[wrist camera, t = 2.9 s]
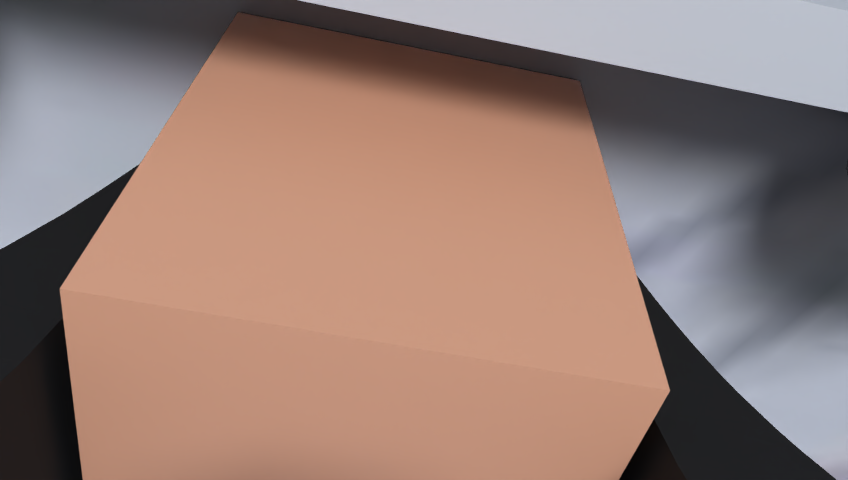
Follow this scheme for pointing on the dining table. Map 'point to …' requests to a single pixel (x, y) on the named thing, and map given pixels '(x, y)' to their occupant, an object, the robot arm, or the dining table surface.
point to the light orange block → (362, 278)
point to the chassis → (664, 37)
